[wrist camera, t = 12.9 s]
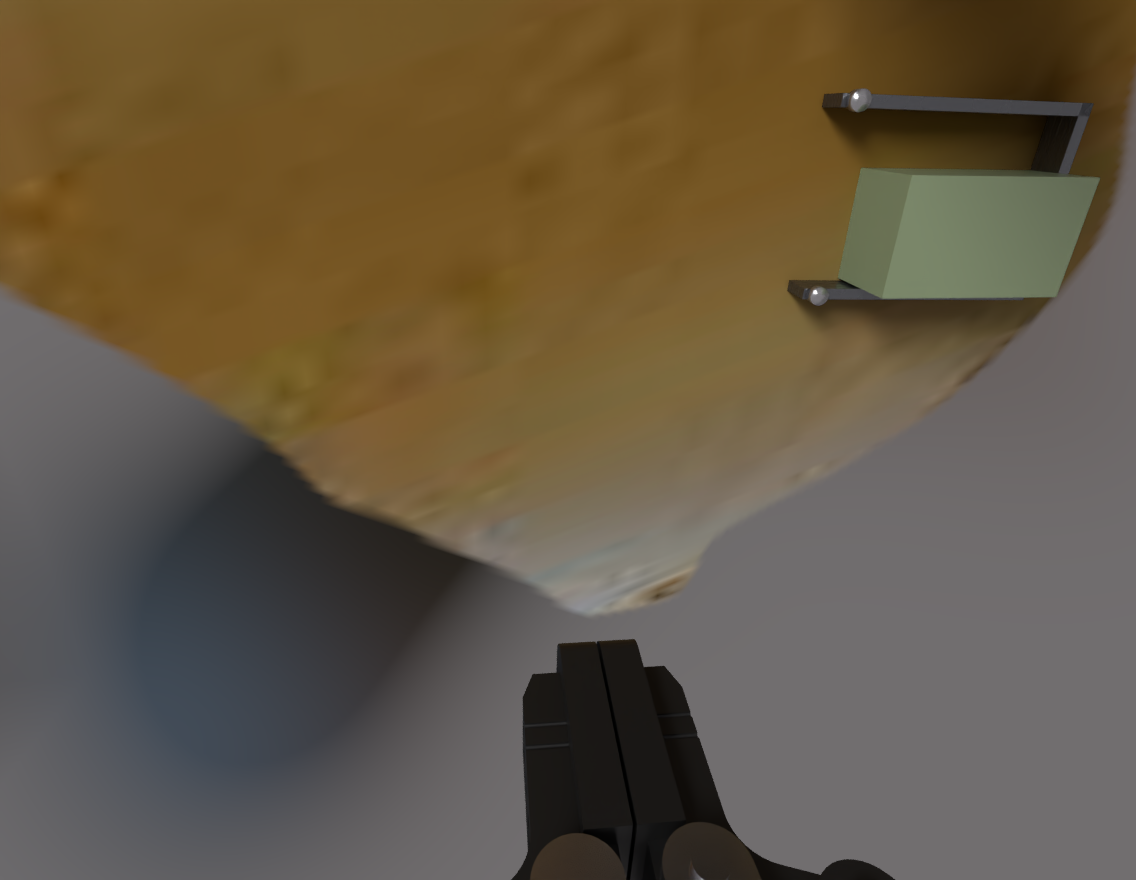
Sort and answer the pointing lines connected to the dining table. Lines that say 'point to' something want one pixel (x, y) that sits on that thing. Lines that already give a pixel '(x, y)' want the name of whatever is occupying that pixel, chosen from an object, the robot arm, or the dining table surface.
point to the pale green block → (963, 232)
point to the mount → (1054, 143)
